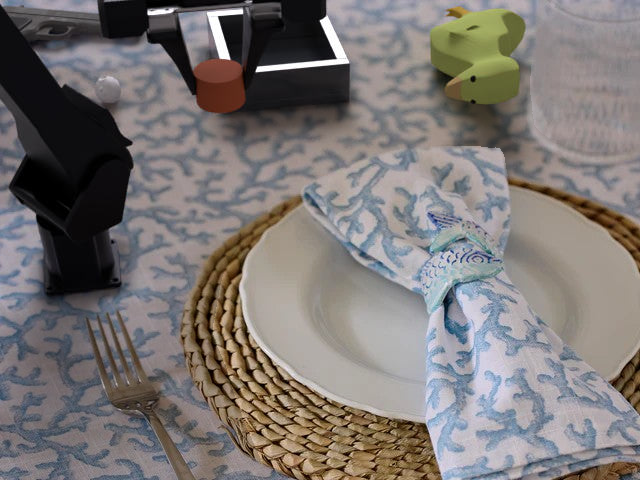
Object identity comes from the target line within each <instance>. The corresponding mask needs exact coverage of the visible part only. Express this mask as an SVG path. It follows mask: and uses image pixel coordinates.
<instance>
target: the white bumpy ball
mask: <svg viewBox="0 0 640 480" xmlns="http://www.w3.org/2000/svg"><path fill="white" fill-rule="evenodd" d="M94 93H95V96H96V98H97V99H98V100H99V101H101V102H102V103H105V104H115V103H116V102H117V101H118V100H119V99H120V97H121V93H122V88H121V84H120V82H119V79H116V78H115V77H112V76H108V75H107V74H106V75H102V76H101V77H99V78H98V80H96V83H95V85H94Z"/></svg>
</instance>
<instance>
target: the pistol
mask: <svg viewBox="0 0 640 480" xmlns="http://www.w3.org/2000/svg"><path fill="white" fill-rule="evenodd" d="M2 7H3V8H4V10H5V11H6V12H7V14H8V15H9V16H10V18H11V19H12V21H13V22H14V23H15V25H16V26H17V27H18V29H19V30H20V32H21V33H22V34H23V36H24V37H25V38H26V40H27V41H28V43H30V42H31V43H32V42H36V41H38V40H39V41H52V42H61V41H66V40H68V39H70V38H71V37H72V36H73V35H78V34H79V35H80V34H86V35H99V36H102V30H101V25H100V19H99V13H97V12H83V11H75V10H74V11H73V10H60V9H51V8H50V9H49V8H38V7H28V6H27V7H26V6H24V4H20V5H19V6H18V5H17V6H15V5H4V6H2ZM50 33H51V34H50ZM52 33H61V34H52Z"/></svg>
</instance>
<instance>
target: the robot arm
mask: <svg viewBox="0 0 640 480" xmlns="http://www.w3.org/2000/svg"><path fill="white" fill-rule="evenodd" d="M96 2H97V3H96V4H97V12H98V13H97V14H99V19H100V25H101V30H102V35H101V36H102V37H103V38H106V39H107V40H108V39H109V40H116V39H126V38H137V37H143V35H144V34H145V35H146V41H147V43H148V44H151V45H160V46H161V47H162V49H163V50H164V51H165V53H166V54H167V55H168V56H169V58H170V59H171V60H172V62H173V63H174V65H175V67H176V68H177V69H178V72H179V73H180V75H181V77H182V79H183V81H184V82H185V84H186V87H187V89H188V90H189V92H190V94H191V96H196V95H197V92H196V83H195V78H194V74H193V70H194V68H193V66H192V62H191V58H190V54H189V50H188V46H187V43H186V39H185V35H184V32H183V28H182V27H183V26H182V24H181V20H180V16H179V14H185V13H197V12H206V11H208V12H210V11H217V10H218V11H221V10H230V9H231V10H232V9H243V49H242V68H243V77H244V90H249V88H250V86H251V83H252V80H253V78H254V75H255V72H256V70H257V67H258V64H259V62H260V59H261V57H262V55H263V53H264V51H265V49H266V48H267V46H268V44H269V42H270V40H271V39H272V37H273V35H274V34H275V33H280V32H283V31H284V30H285V23H284V20H283V18H282V15H283V16H284V17H285V18H286V19H288V20H289V21H290V22H291V23H295V22H306V21H317V20H322V19H324V18H325V17H327V16H328V13H327V11H328V10H327V0H96ZM3 7H4V6H3V5H2V4H1V3H0V101H1V102H2V104H3V105H4V106H5V108H7V110H8V111H9V112H10V113H11V115H12V117H13V119H14V121H15V122H14V123H15V127H16V128H15V129H16V133H17V139H18V141H19V142H20V144H21V146H22V148H23V150H24V152H25V155H24V156H23V158H22V160H21V162H20V164H19V166H18V167H17V169H16V171H15V173H14V175H13V177H12V179H11V181H10V182H9V184H8V190H9V192H10V193H11V195H13V197H14V198H15V199H16V201H17V202H18V203H19V204H21V205H22V206H25V207H26V208H27V209H29V210H31V211H32V212H33V213H34V214H35V221H36V225H37V229H38V232H39V237H40V242H41V246H42V249H43V251H42V252H43V290H44V293H45V295H46V296H48V297H54V296H61V295H62V296H63V295H68V294H76V293H83V292H92V291H99V290H107V289H116V288H119V287H120V286H122V284H123V282H122V273H121V272H122V271H121V263H120V255H119V244H118V240H117V239H115V238H111V235H110V229H112V228H114V227H116V226H118V225H120V224H121V223H122V222H123V218H124V213H125V207H126V200H127V194H128V189H129V182H130V177H131V172H132V170H133V169H134V167H135V164H134V163H135V162H134V158H133V156H132V154H131V151H130V150H129V149H128V147H131V146H132V145H133V144H134V141H132V140H131V139H130V138H127V137H126V136H124V134H122V132H121V130H120V129H119V126H118V124H117V122H116V120H115V118H114V116H113V114H112V113H111V111H110V110H109V109H108V108H106V106H104V105H102V104H100V103H98V101H95V100H94V99H92V98H90V97H89V96H87V95H85V94H84V93H82V92H81V91H79V90H77V89H76V88H74V87H73V86H71V85H70V84H67V83H64V84H63V85H62V86H61V84H59V82H58V81H57V80H56V78H55V77H54V76H53V74H52V73H51V71H50V70H49V68H48V67H47V66H46V65H45V63H44V62H43V60H42V59H41V58H40V56H39V55H38V53H37V52H36V51H35V49H34V48H33V46H32V45H31V44H30V42H28V41H27V40H26V38H25V37H24V36H23V34H22V33H21V32H20V30H19V29H18V27H17V26H16V25H15V23H14V22H13V21H12V19H11V18H10V16H9V15H8V14H7V12H6V11H5V10H4V8H3ZM281 13H282V15H281Z"/></svg>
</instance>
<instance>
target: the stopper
mask: <svg viewBox="0 0 640 480" xmlns="http://www.w3.org/2000/svg"><path fill="white" fill-rule="evenodd" d="M193 74H194V78H195V83H196V92H197V95H195V101H196V105H197V107H198V108H199V109H200V110H202V111H204V112H206V113H207V112H208V113H211V114H228V113H227V112H231V111H234V110H237V109H239V108H240V107H241V106H242V105H243V104H244V103H245V90H244V77H243V68H242V66H241V65H240V64H239V63H237V62H235V61H233V60H229V59H212V58H211V59H207V60H203V61H201V62H200V63H198V64H196V66H195V67H194V68H193Z"/></svg>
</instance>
